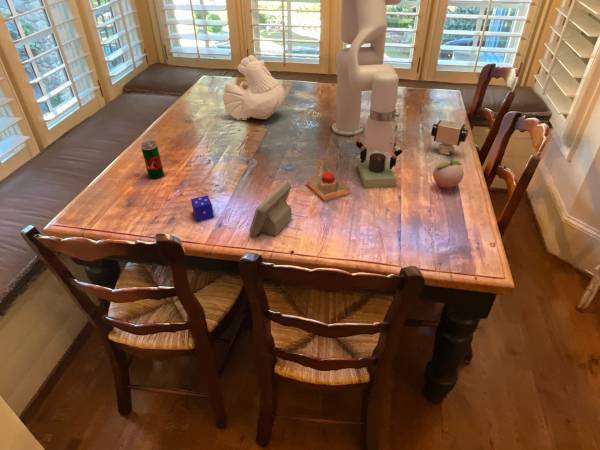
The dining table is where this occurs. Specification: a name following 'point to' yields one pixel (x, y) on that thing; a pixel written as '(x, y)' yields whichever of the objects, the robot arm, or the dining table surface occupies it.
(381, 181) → the dial panel
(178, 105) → the dining table surface
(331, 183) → the button box
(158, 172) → the soda can
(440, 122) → the pneumatic valve
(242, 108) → the decorative rooster
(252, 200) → the dining table surface
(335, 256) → the dining table surface
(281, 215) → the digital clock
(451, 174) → the decorative fruit
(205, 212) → the die
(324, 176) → the button
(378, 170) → the dial knob
